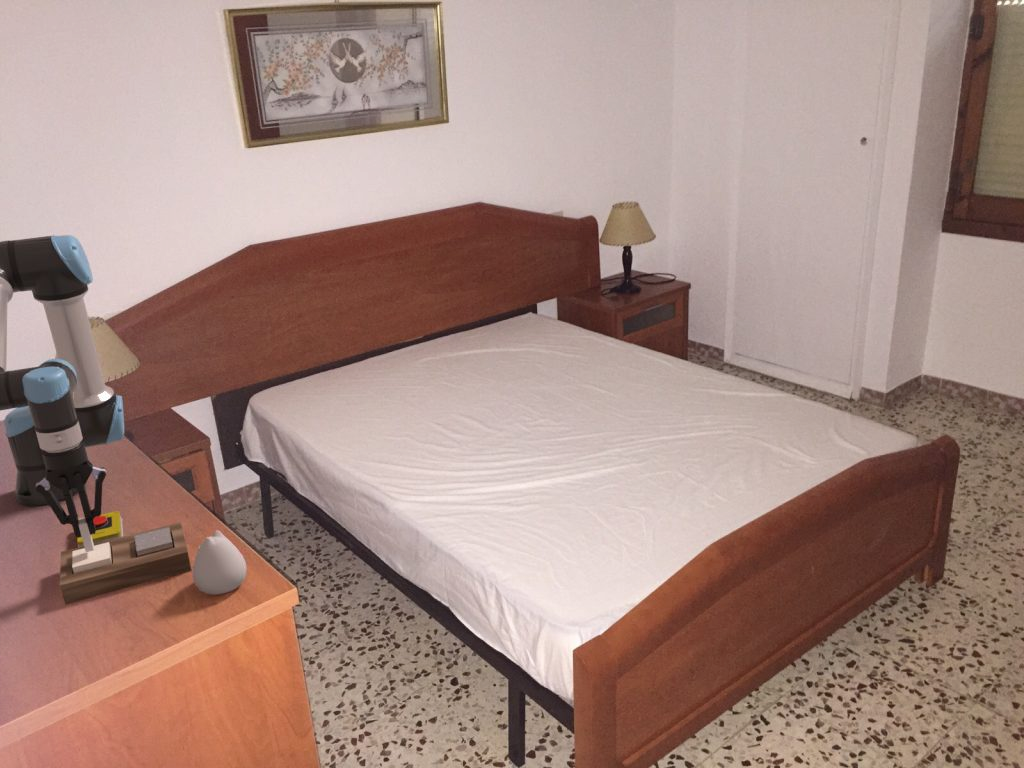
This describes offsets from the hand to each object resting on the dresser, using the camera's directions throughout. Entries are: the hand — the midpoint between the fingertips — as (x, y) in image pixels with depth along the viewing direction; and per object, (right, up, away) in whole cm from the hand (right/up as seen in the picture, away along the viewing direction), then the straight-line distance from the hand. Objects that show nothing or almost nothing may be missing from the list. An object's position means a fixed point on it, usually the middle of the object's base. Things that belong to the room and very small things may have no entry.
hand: (89, 548), depth 171 cm
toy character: (+28, -7, -2) cm, 29 cm away
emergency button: (-7, -2, +18) cm, 20 cm away
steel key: (+11, -2, +6) cm, 13 cm away
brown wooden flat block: (+6, -6, +5) cm, 9 cm away
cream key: (0, -5, +1) cm, 5 cm away
